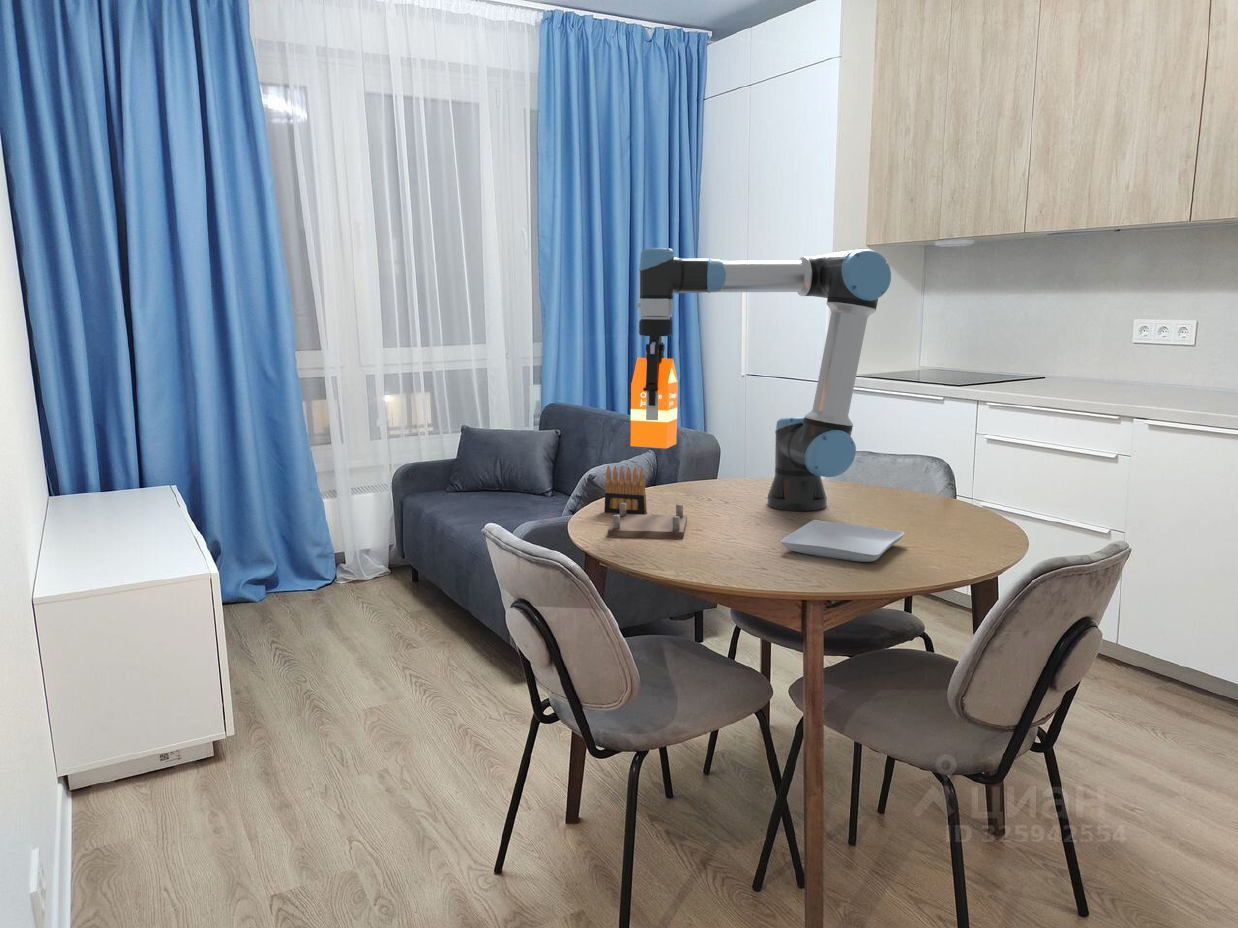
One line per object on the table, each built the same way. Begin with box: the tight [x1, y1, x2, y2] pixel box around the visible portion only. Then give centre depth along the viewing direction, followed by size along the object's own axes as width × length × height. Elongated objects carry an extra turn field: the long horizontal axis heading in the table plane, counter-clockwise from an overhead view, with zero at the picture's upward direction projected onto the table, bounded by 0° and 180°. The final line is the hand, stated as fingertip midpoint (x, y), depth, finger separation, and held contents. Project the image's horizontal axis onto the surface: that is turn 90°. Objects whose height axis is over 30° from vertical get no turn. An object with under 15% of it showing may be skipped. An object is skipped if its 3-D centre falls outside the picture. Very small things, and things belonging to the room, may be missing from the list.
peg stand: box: [607, 503, 688, 539], centre depth 212 cm, size 17×16×4 cm
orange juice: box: [630, 357, 678, 449], centre depth 209 cm, size 8×9×20 cm
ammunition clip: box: [604, 465, 648, 515], centre depth 228 cm, size 11×2×12 cm, turn 71°
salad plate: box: [779, 519, 906, 563], centre depth 194 cm, size 21×21×3 cm
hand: (654, 417), depth 209 cm, fingers closed on orange juice, 9 cm apart
